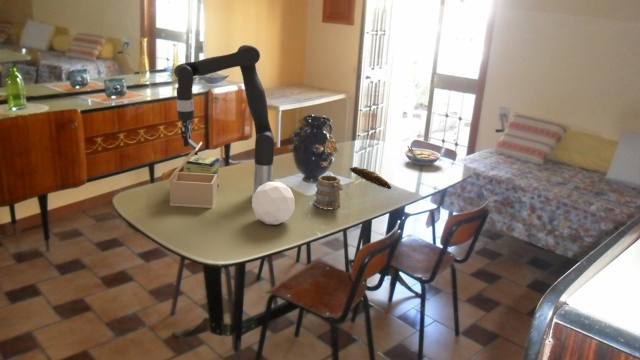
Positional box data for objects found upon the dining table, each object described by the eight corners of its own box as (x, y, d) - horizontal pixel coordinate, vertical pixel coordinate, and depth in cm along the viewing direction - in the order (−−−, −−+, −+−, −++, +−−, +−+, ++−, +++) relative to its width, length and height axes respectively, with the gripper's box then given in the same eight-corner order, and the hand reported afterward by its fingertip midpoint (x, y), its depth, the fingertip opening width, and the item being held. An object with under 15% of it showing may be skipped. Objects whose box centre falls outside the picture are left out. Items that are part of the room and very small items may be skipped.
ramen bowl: (442, 171, 346) (444, 159, 343) (405, 169, 346) (407, 156, 343) (435, 160, 370) (437, 148, 367) (401, 157, 369) (402, 145, 367)
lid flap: (202, 142, 268) (188, 130, 266) (196, 150, 255) (181, 138, 252) (176, 171, 273) (162, 159, 271) (169, 181, 259) (154, 169, 257)
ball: (268, 240, 251) (251, 215, 236) (257, 210, 264) (239, 184, 250) (306, 221, 251) (291, 194, 237) (292, 192, 265) (277, 165, 250)
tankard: (310, 201, 282) (312, 173, 277) (333, 199, 287) (335, 171, 282) (326, 216, 264) (328, 186, 260) (350, 214, 269) (353, 184, 265)
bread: (394, 189, 310) (395, 180, 308) (388, 190, 307) (389, 182, 306) (352, 169, 339) (353, 161, 337) (346, 170, 336) (347, 162, 335)
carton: (217, 197, 277) (217, 174, 273) (212, 207, 264) (212, 184, 260) (176, 194, 276) (176, 171, 272) (170, 205, 263) (169, 181, 259)
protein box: (211, 193, 282) (212, 163, 277) (183, 188, 285) (182, 159, 280) (219, 186, 292) (219, 158, 287) (191, 182, 295) (191, 154, 290)
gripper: (190, 112, 249) (192, 149, 254) (196, 106, 262) (198, 141, 268) (173, 112, 249) (175, 149, 254) (180, 105, 262) (182, 140, 268)
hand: (187, 144), depth 261 cm, fingers closed on lid flap, 4 cm apart
